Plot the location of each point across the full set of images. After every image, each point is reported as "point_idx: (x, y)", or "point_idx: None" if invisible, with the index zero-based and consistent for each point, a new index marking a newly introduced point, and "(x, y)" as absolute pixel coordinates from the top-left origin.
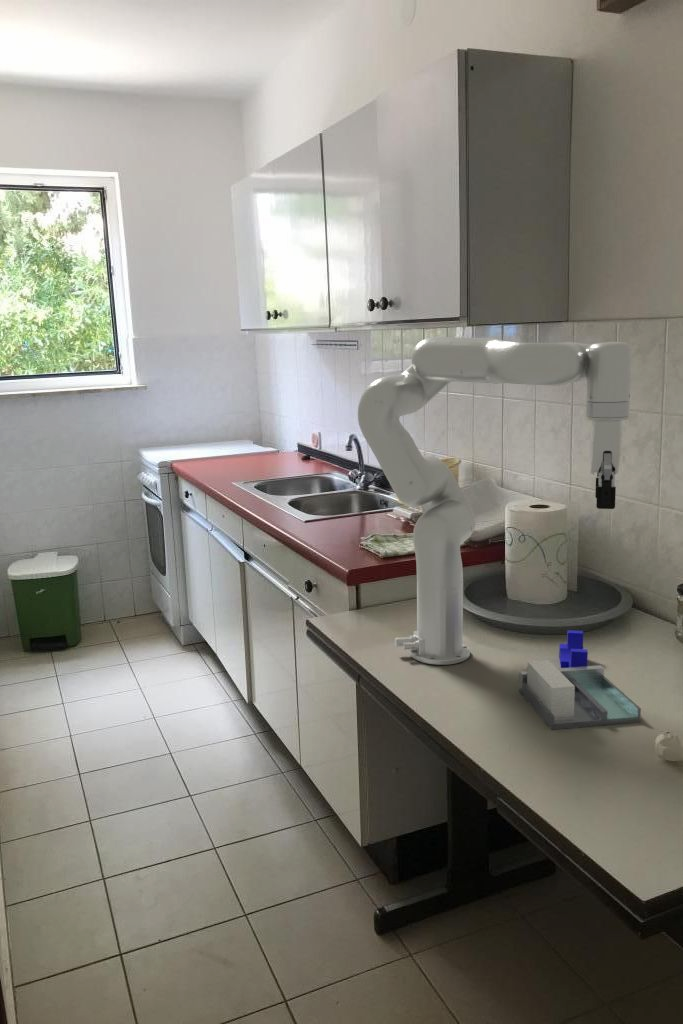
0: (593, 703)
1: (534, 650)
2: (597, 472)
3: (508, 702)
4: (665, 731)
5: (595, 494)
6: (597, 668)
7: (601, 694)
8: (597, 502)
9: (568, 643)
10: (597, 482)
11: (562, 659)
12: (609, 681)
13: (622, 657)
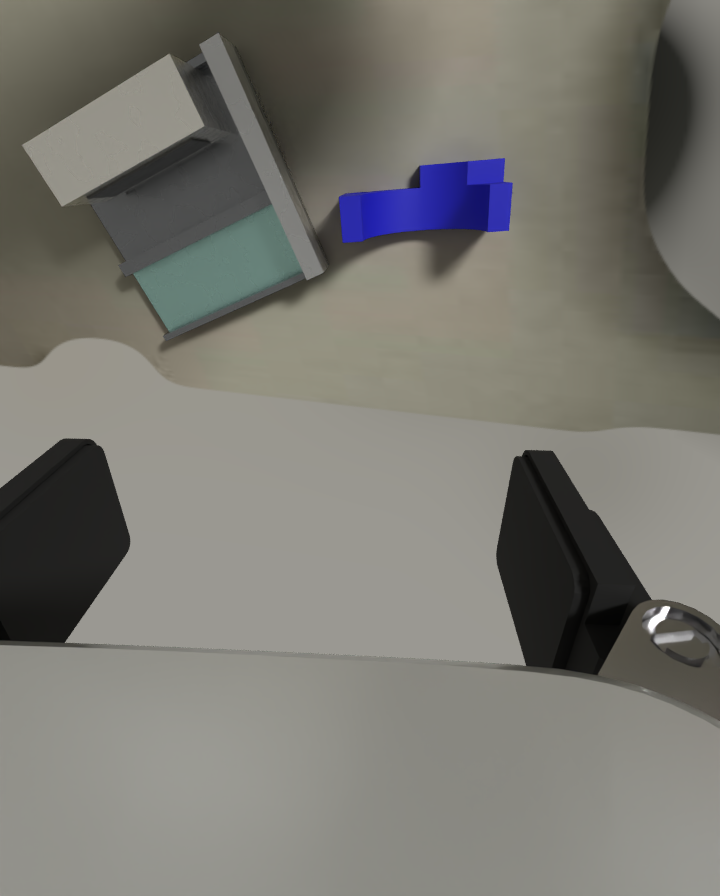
0: (151, 248)
1: (540, 75)
2: (611, 667)
3: (159, 19)
4: (158, 370)
5: (538, 462)
6: (301, 264)
7: (246, 266)
8: (40, 465)
9: (476, 186)
10: (561, 558)
11: (432, 169)
12: (280, 287)
13: (500, 322)
